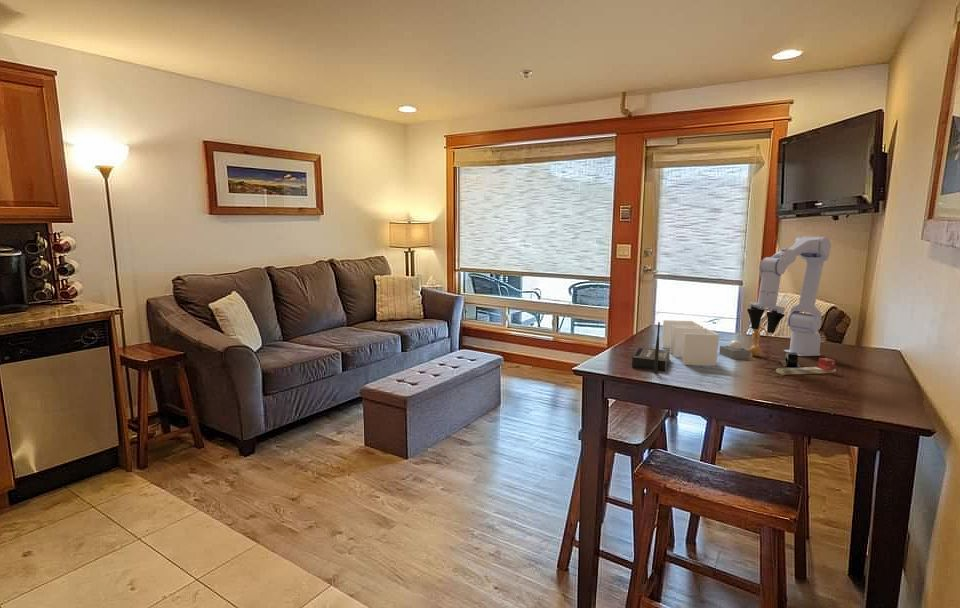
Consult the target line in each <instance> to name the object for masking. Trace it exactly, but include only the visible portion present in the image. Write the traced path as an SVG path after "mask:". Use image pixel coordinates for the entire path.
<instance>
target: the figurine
mask: <svg viewBox="0 0 960 608" xmlns="http://www.w3.org/2000/svg"><path fill="white" fill-rule="evenodd" d="M750 329H752V327H751V326H748V327H746V329H745V331H744V333H743V336H746V334H747V332H748V330H750ZM752 330H753V332H752V333H751V338H752V346H750V348H749V350H751V351H750V355H752V356H753V357H758V356H760V355H761V354H762V351H763V350H762V347H760V345H759V343H760V341H761V333H760V332H759V331H760V330H763V331H764V333H765V334H766V336H767V338H769V334H768V332H767V329H766V328H765V327H762V326H760V325H759V328H758V329H752ZM755 338H757V341H756V344H755Z"/></svg>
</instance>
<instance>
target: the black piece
mask: <svg viewBox="0 0 960 608" xmlns="http://www.w3.org/2000/svg"><path fill="white" fill-rule="evenodd" d="M798 360H799V356H798V355H797V353H794V352H785V359H784V360H779V362H780V363H781V364H782V366H783V368H803V367H802V366H801V365H800V363H798V362H799V361H798Z"/></svg>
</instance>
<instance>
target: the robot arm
mask: <svg viewBox="0 0 960 608" xmlns="http://www.w3.org/2000/svg"><path fill="white" fill-rule="evenodd" d="M831 248H832V244H831V241H830V239H829V237H827V236H804V235H803V236H802V235H800V236H798V237H797V238H795V241H794V244H793V245H792V246H790V247H789V248H787V247H782V248H781V249H780V250H779V251H778V252H776V253H774V254H773V255H772V256H770V257H769V256H766V257H764V258H763V259H761V261H760V264H759V266H758V270H759V277H760V284H759V291H758V296H757V302H754V301H749V305H748V308H747V313H748V316H749V318H750V327H752V328H751V329H752V330H753V329H758V328H759V326H760V324H761V319H762V317H763V314H764V312H765V311H766V312H765V314H766V317H767V328H766V332H767V333H769V334H775V331H776V329H777V327H778V325H779V323H780V322H781V321H782V319H784V318H785V309H786V307H782V306H778V305H777V301H778V296H779V295H778V294H779V289H780V282H781V277H782V276H781V275H784V274H785V272H786V271H787V269H788V267H789V266H790V265H791V264H793V263H794V262H795V261H796V259H797V257H798V256H799V257H800V259H802V260H805V262H806V268H805V272H804V275H803V276H804V278H803V282H802V287H801V292H800V296H799V297H800V298H799V300H798V304H796V305H794V306H792V307H791V308H790V311H789V314H788V316H787V318H786V323H787V326H788V327H789V330H791V334H790V335H791V336H790V342H789V349H784V350H783V352H785V353H786V352H794V353H797V355H798V357H811V356H812V357H813V356H814V357H816V356H819V357H820V356H821V355H822V354H821V353H820V351H821V350H820V348H821V342H822V337H821V334H820V333H819V332H818V331H820V329H821V326H822V323H823V321H822V315H823V314H822V311H821V310H820V309H818V307H816V301H817V297H818V296H817V295H818V291H819V285H820V281H821V278H822V277H821V276H822V272H823V266H824V262H826V261H828V259H829V256H830V252H831Z"/></svg>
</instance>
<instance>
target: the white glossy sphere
mask: <svg viewBox="0 0 960 608" xmlns="http://www.w3.org/2000/svg"><path fill="white" fill-rule="evenodd" d="M727 346H728V348H730V349H732V350H742V347H743V344H742V343H741V342H740V341H739V340H737V339H734V340H731V341H730V342H729V343H728V345H727Z"/></svg>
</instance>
